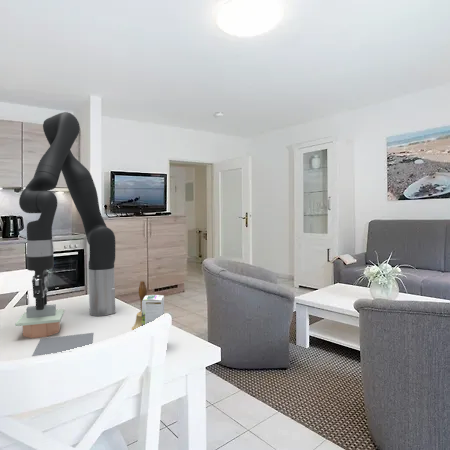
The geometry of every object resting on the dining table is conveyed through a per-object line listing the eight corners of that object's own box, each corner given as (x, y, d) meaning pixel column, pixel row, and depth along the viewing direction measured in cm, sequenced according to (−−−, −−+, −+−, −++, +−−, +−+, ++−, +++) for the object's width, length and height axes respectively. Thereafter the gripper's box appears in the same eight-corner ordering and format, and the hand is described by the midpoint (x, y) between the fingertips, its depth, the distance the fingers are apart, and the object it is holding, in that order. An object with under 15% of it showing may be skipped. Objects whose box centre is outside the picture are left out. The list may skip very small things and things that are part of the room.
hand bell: (132, 335, 107) (131, 285, 107) (129, 327, 115) (128, 280, 114) (158, 331, 111) (158, 282, 110) (154, 323, 118) (153, 278, 118)
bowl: (61, 326, 116) (61, 312, 115) (57, 337, 106) (57, 321, 106) (27, 330, 112) (27, 315, 112) (20, 341, 103) (20, 324, 103)
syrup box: (144, 343, 101) (143, 294, 100) (164, 342, 101) (164, 294, 101) (141, 351, 95) (140, 300, 94) (162, 350, 95) (162, 299, 95)
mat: (93, 334, 108) (93, 332, 108) (92, 350, 96) (92, 348, 96) (40, 340, 103) (40, 338, 103) (31, 358, 91) (31, 356, 91)
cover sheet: (64, 311, 117) (64, 300, 116) (60, 321, 105) (59, 309, 105) (24, 314, 113) (24, 303, 112) (15, 326, 101) (15, 313, 101)
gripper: (49, 256, 102) (51, 312, 103) (56, 251, 116) (57, 300, 117) (21, 257, 100) (23, 315, 101) (31, 252, 114) (32, 302, 114)
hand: (41, 307), depth 109 cm, fingers open, 5 cm apart
